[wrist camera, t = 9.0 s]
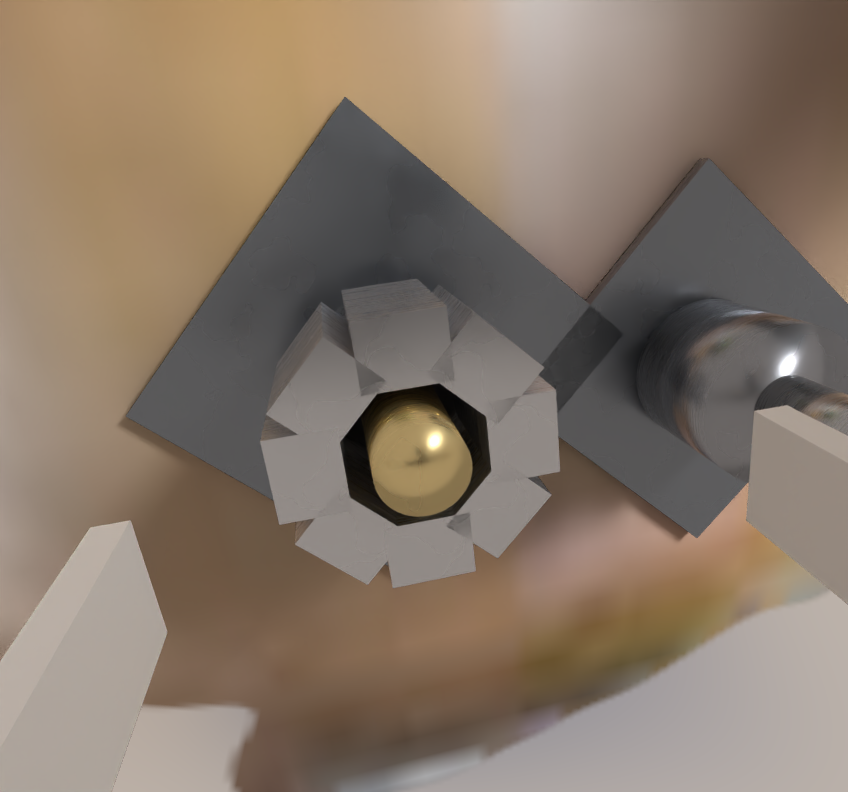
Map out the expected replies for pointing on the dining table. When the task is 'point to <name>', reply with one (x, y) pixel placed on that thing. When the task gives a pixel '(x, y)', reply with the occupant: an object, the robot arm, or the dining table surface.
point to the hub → (322, 282)
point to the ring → (348, 457)
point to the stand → (702, 351)
